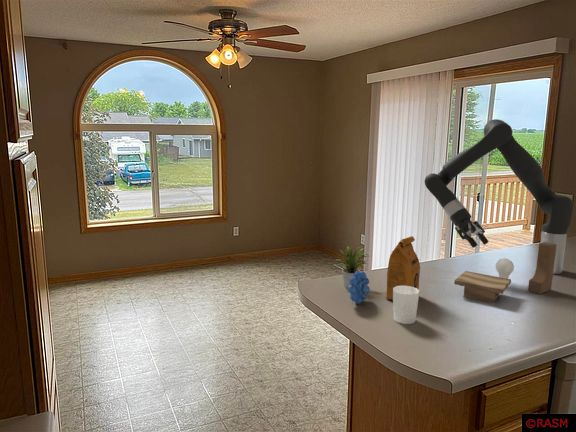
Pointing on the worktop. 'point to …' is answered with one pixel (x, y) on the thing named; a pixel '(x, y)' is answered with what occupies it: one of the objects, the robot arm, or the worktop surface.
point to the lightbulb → (504, 267)
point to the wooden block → (543, 269)
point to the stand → (482, 285)
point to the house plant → (351, 264)
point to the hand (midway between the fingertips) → (481, 244)
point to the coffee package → (403, 267)
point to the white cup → (405, 304)
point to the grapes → (358, 287)
